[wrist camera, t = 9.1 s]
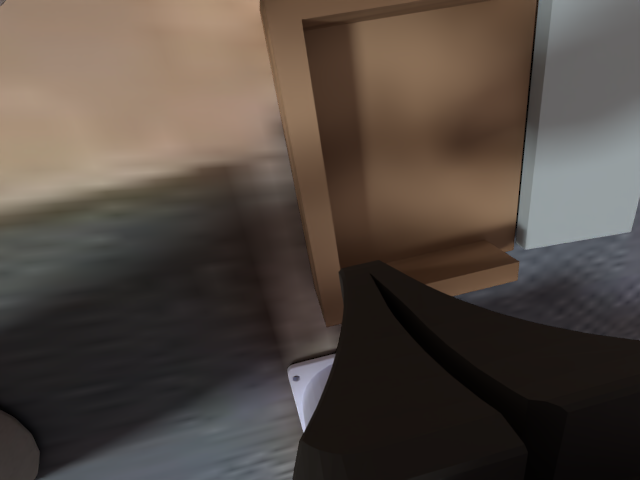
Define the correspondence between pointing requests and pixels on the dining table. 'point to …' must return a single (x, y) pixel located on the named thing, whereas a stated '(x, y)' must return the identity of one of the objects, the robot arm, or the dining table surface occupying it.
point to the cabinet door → (582, 123)
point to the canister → (17, 450)
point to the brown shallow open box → (404, 134)
